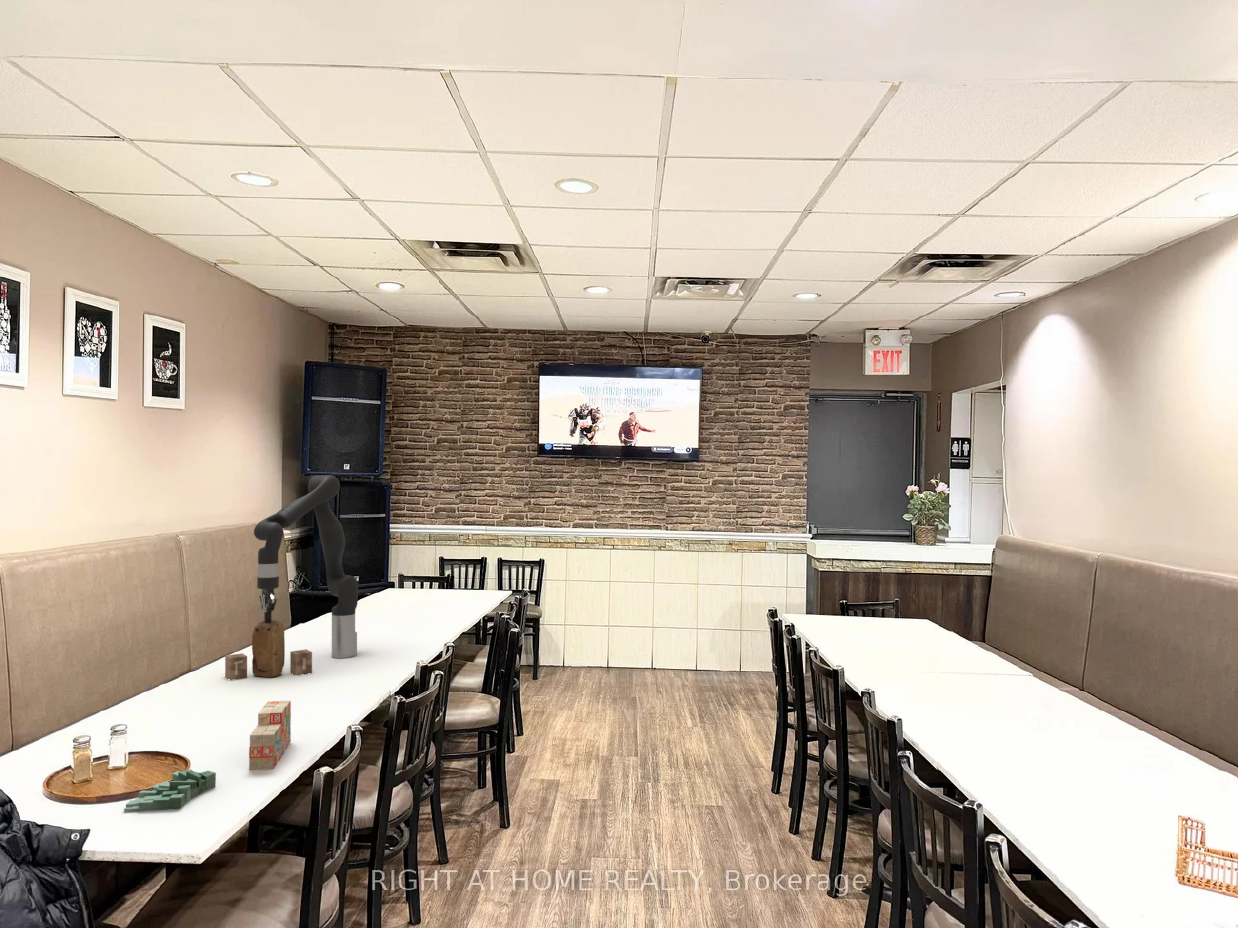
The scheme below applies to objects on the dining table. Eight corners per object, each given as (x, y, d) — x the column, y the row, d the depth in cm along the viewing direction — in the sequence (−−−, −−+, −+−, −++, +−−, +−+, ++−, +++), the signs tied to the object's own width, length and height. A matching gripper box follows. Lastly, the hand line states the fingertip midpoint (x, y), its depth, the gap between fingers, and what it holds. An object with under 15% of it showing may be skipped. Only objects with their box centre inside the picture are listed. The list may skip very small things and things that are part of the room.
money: (199, 809, 195) (199, 788, 195) (122, 814, 192) (122, 793, 192) (224, 777, 215) (224, 758, 215) (155, 781, 212) (155, 762, 212)
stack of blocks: (274, 769, 220) (274, 722, 220) (248, 771, 218) (248, 723, 218) (290, 742, 241) (291, 699, 241) (267, 743, 240) (267, 700, 239)
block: (286, 673, 317) (286, 620, 317) (274, 678, 310) (274, 624, 310) (261, 671, 320) (261, 619, 320) (248, 676, 313) (248, 622, 313)
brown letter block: (242, 674, 316) (242, 653, 316) (247, 677, 311) (247, 656, 311) (225, 677, 312) (225, 655, 312) (229, 680, 307) (230, 658, 307)
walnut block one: (306, 670, 323) (306, 649, 323) (312, 673, 318) (312, 652, 318) (290, 672, 319) (290, 651, 319) (296, 675, 315) (296, 654, 314)
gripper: (284, 576, 312) (283, 623, 312) (272, 572, 322) (272, 618, 322) (263, 578, 307) (262, 625, 307) (252, 574, 318) (251, 620, 318)
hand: (267, 621), depth 315 cm, fingers closed
